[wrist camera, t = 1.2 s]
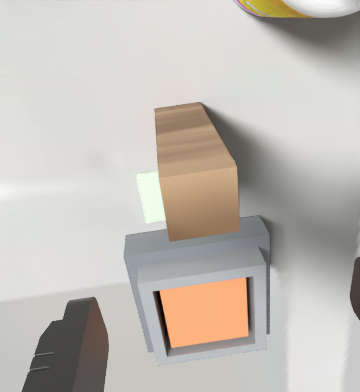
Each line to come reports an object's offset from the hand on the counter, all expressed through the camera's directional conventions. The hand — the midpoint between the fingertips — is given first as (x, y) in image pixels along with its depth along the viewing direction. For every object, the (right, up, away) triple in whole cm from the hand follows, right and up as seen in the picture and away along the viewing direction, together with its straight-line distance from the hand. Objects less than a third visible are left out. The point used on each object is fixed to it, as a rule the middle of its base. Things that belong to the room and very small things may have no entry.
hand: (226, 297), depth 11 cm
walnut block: (-1, +8, +15) cm, 18 cm away
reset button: (+1, -6, +21) cm, 22 cm away
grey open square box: (0, -5, +23) cm, 23 cm away
